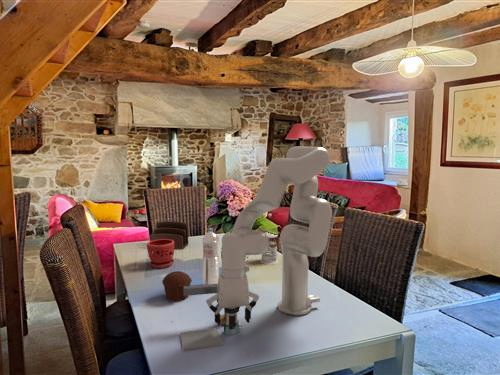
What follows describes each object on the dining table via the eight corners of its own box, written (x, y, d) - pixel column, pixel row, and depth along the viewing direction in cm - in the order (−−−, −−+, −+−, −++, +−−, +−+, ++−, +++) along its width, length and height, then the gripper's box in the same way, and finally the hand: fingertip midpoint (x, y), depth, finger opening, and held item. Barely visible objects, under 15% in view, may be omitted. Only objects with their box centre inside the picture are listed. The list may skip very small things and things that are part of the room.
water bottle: (222, 285, 165) (222, 228, 162) (210, 290, 160) (209, 231, 157) (211, 281, 169) (211, 226, 166) (199, 285, 165) (199, 228, 161)
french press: (279, 264, 193) (280, 215, 190) (256, 264, 193) (256, 215, 190) (278, 258, 203) (279, 211, 199) (256, 258, 203) (256, 211, 200)
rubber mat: (216, 329, 127) (216, 327, 127) (223, 345, 118) (223, 343, 118) (180, 334, 124) (180, 332, 124) (183, 350, 114) (183, 348, 114)
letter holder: (157, 243, 231) (156, 220, 229) (188, 245, 228) (188, 221, 226) (150, 248, 221) (149, 224, 219) (183, 249, 218) (182, 225, 216)
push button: (239, 326, 129) (239, 297, 128) (246, 333, 125) (246, 304, 123) (221, 330, 127) (220, 301, 125) (227, 337, 122) (227, 307, 120)
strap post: (234, 315, 137) (234, 287, 136) (238, 323, 131) (238, 294, 130) (217, 317, 135) (217, 289, 134) (221, 325, 130) (221, 296, 128)
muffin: (156, 300, 150) (155, 275, 149) (172, 289, 160) (171, 266, 159) (182, 305, 146) (182, 279, 144) (197, 294, 156) (197, 270, 155)
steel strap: (233, 292, 131) (233, 283, 130) (184, 296, 127) (183, 287, 127) (231, 288, 134) (231, 279, 133) (183, 292, 130) (183, 283, 130)
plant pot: (172, 260, 199) (172, 237, 198) (176, 268, 187) (175, 244, 185) (146, 262, 195) (146, 239, 194) (148, 270, 183) (147, 246, 181)
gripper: (255, 266, 129) (254, 314, 131) (204, 270, 124) (204, 320, 126) (262, 273, 122) (261, 324, 124) (208, 278, 117) (208, 331, 119)
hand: (232, 322), depth 125 cm, fingers open, 9 cm apart
